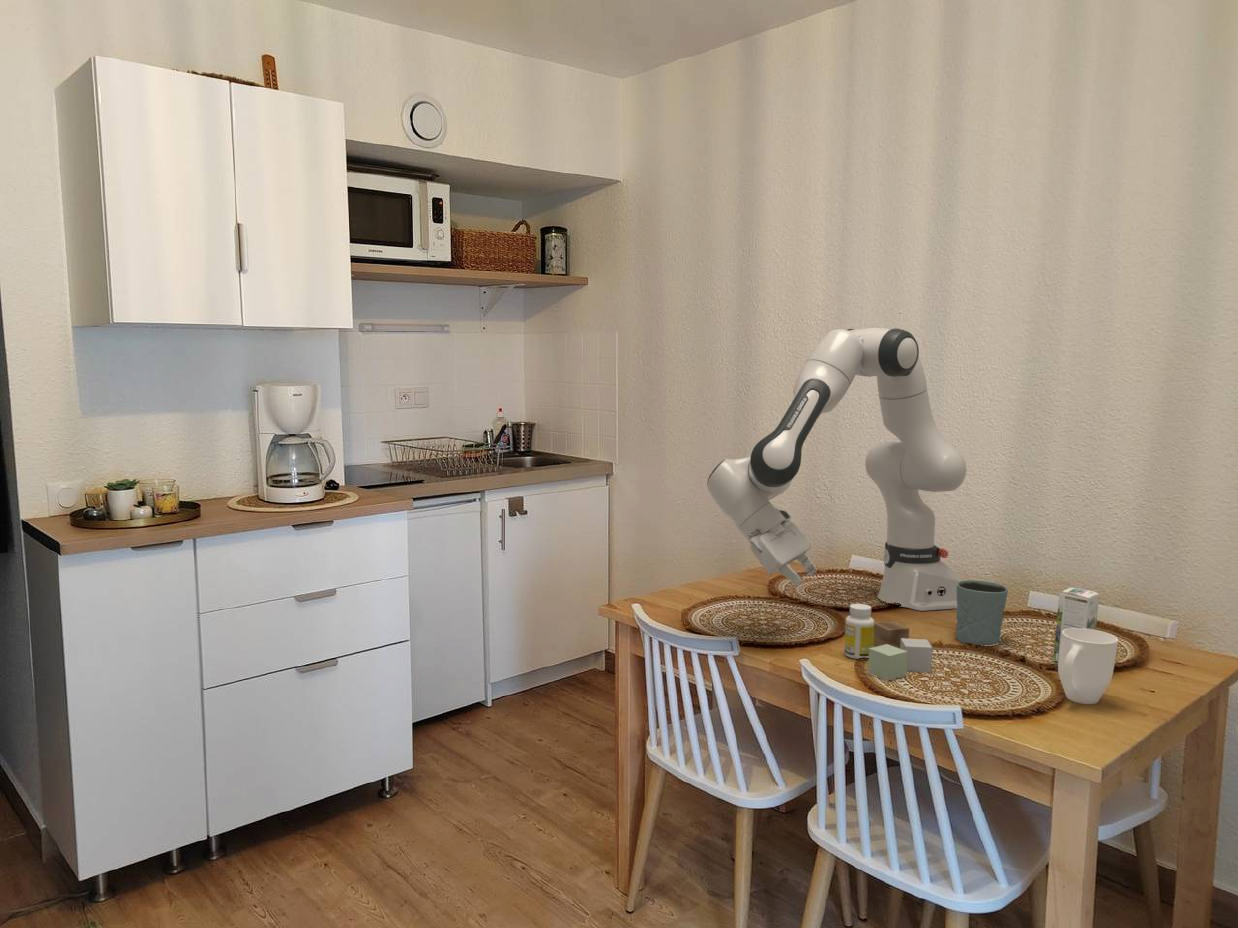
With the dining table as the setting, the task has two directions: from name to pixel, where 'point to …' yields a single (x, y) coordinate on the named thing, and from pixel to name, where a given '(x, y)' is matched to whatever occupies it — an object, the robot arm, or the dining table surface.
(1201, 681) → the dining table surface
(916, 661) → the grey painted cube
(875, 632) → the walnut cube
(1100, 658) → the mug
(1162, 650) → the dining table surface
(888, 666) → the sage cube
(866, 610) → the supplement bottle
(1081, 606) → the syrup box
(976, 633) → the teal plant pot
